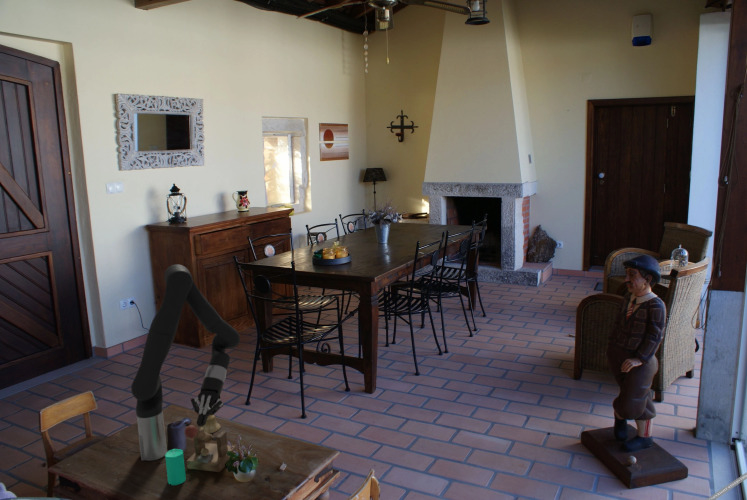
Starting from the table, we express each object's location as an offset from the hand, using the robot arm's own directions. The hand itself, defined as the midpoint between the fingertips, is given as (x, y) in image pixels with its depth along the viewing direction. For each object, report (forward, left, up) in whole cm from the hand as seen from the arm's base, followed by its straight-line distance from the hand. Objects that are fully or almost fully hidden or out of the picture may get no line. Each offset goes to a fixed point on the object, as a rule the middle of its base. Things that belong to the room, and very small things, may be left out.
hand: (200, 425), depth 207 cm
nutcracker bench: (+3, +5, -17) cm, 18 cm away
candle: (-10, -3, -17) cm, 20 cm away
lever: (+3, +5, -8) cm, 10 cm away
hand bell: (+5, +31, -17) cm, 36 cm away
